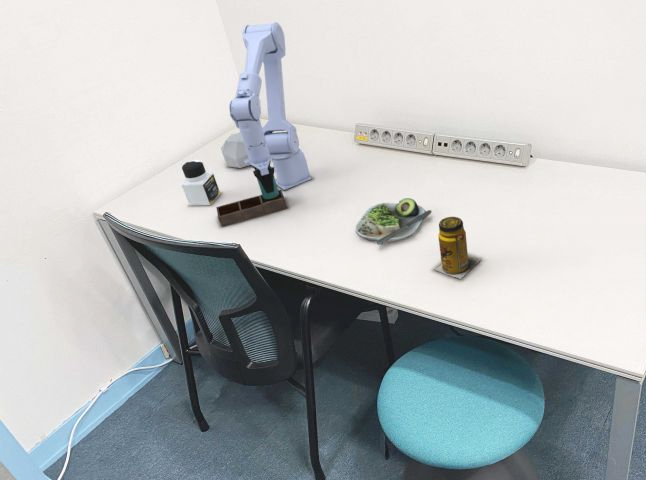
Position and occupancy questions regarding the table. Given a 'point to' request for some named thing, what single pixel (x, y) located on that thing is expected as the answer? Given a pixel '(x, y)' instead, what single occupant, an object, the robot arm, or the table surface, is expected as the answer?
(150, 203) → the table surface
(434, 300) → the table surface
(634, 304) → the table surface
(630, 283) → the table surface
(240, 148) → the rock
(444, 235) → the condiment
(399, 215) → the salad plate
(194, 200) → the medicine bottle
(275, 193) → the jar
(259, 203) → the rack
